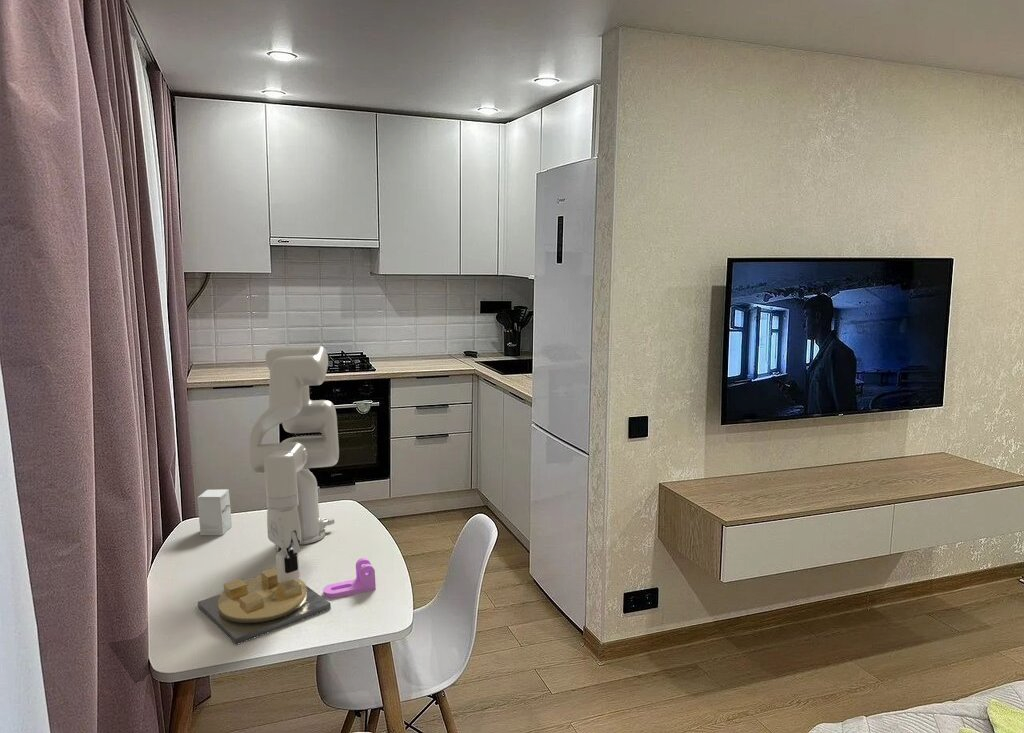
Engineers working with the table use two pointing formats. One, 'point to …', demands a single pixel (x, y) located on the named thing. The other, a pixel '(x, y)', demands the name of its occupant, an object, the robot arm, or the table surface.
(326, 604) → the dark grey square slab
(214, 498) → the supplement box
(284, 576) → the eye dropper bottle
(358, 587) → the bracket
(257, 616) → the plate with cheese cubes
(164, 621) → the table surface
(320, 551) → the table surface
